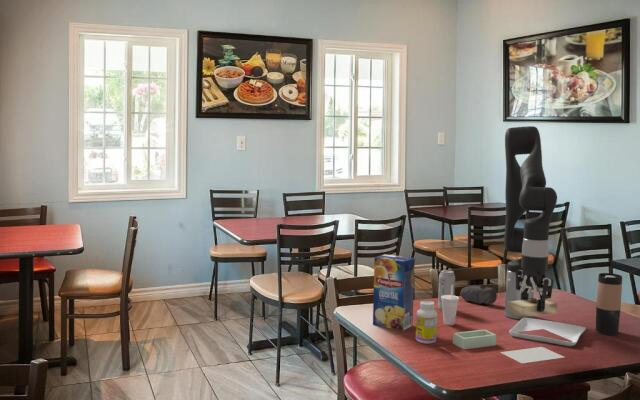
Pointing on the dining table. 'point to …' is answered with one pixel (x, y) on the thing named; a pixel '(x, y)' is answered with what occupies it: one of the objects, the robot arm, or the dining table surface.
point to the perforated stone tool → (479, 294)
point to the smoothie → (449, 307)
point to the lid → (530, 307)
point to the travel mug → (608, 303)
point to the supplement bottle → (426, 323)
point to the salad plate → (555, 327)
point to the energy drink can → (445, 285)
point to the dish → (474, 339)
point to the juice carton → (393, 291)
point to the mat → (532, 355)
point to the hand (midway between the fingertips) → (532, 308)
